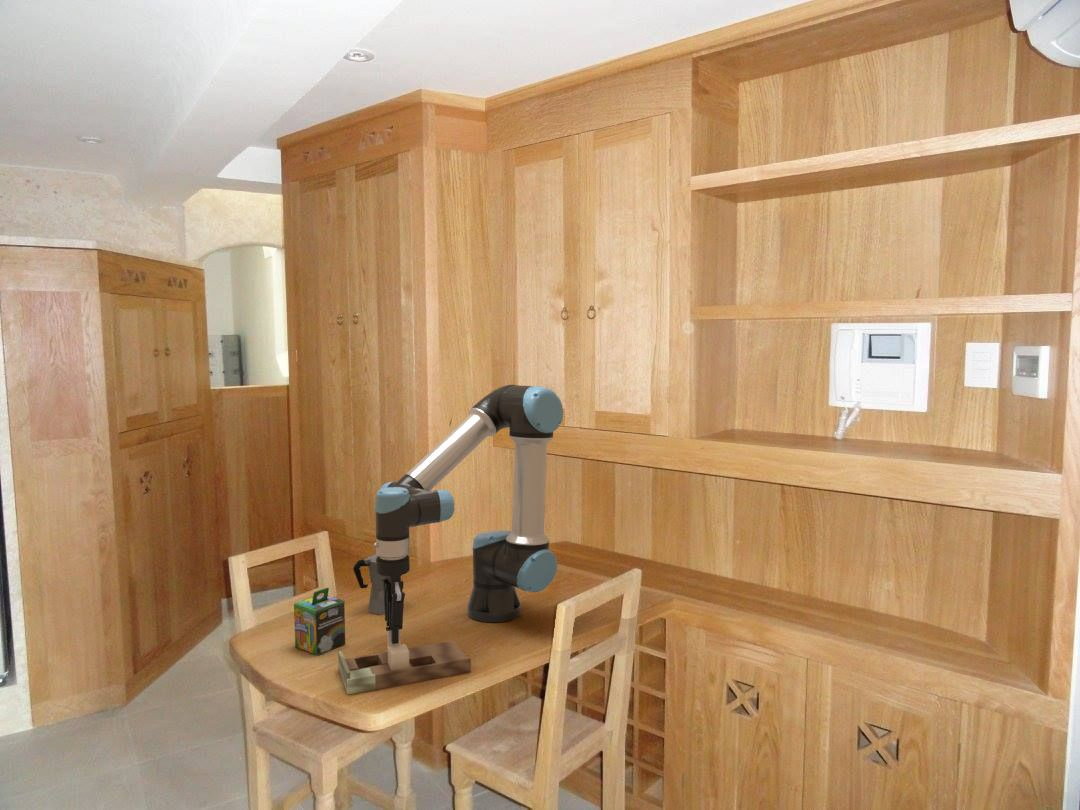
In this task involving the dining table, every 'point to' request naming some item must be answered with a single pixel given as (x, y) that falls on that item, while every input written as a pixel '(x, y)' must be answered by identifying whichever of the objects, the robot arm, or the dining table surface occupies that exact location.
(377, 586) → the coffeepot
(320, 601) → the chalk box
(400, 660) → the ivory block
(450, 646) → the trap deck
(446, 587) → the dining table surface
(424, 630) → the dining table surface
